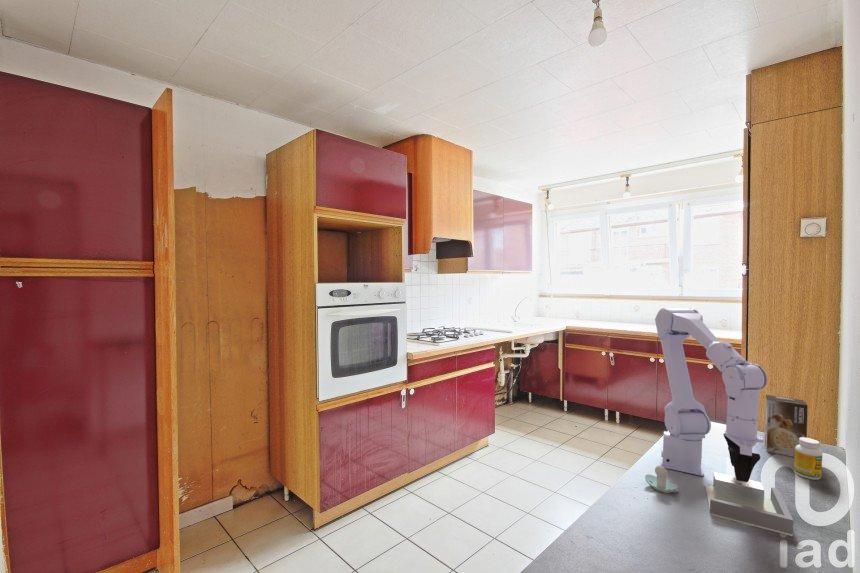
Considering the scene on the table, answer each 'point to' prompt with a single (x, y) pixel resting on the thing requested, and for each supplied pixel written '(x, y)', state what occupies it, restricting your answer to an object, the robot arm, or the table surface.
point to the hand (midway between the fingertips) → (739, 473)
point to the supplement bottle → (808, 459)
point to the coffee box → (784, 424)
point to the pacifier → (661, 481)
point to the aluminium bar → (738, 491)
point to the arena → (755, 512)
